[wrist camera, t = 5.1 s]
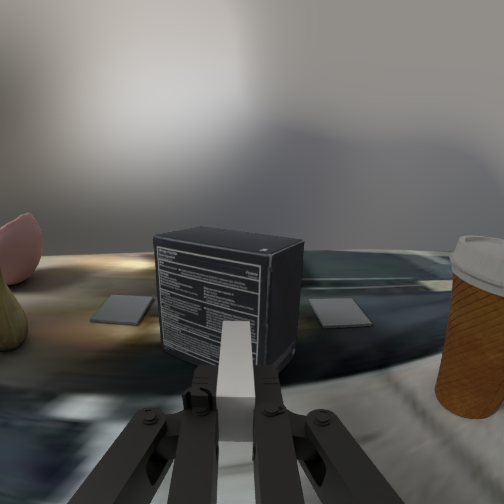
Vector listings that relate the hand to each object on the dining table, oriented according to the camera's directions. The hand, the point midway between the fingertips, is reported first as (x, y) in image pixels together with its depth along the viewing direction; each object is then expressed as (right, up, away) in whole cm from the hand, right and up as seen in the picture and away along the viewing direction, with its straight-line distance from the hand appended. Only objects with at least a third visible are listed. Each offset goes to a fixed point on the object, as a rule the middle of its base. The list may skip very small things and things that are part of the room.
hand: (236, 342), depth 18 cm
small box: (-1, -4, +9) cm, 10 cm away
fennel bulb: (-23, -4, +6) cm, 24 cm away
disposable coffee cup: (+18, -7, +1) cm, 19 cm away
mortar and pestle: (-36, 0, +21) cm, 42 cm away
